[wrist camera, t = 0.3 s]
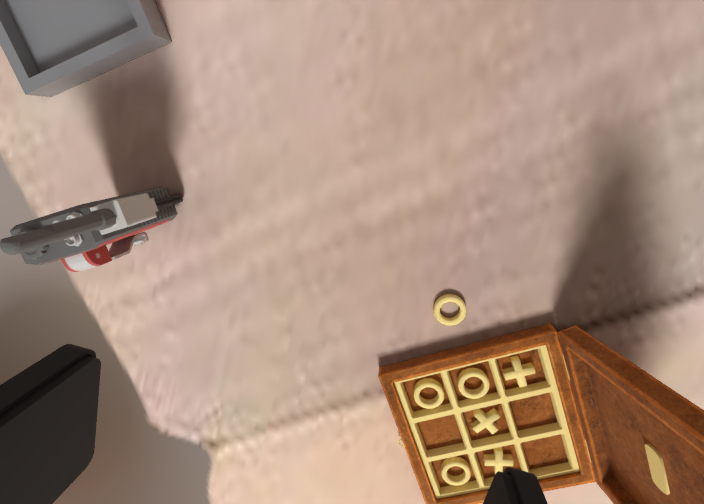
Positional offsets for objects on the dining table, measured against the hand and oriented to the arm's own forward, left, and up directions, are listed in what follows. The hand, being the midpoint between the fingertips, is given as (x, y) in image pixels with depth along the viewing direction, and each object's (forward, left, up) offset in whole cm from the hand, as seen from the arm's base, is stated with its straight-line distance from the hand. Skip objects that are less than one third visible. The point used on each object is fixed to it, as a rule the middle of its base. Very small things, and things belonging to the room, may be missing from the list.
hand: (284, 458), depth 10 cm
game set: (+15, +19, -31) cm, 39 cm away
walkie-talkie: (+6, -19, -31) cm, 37 cm away
